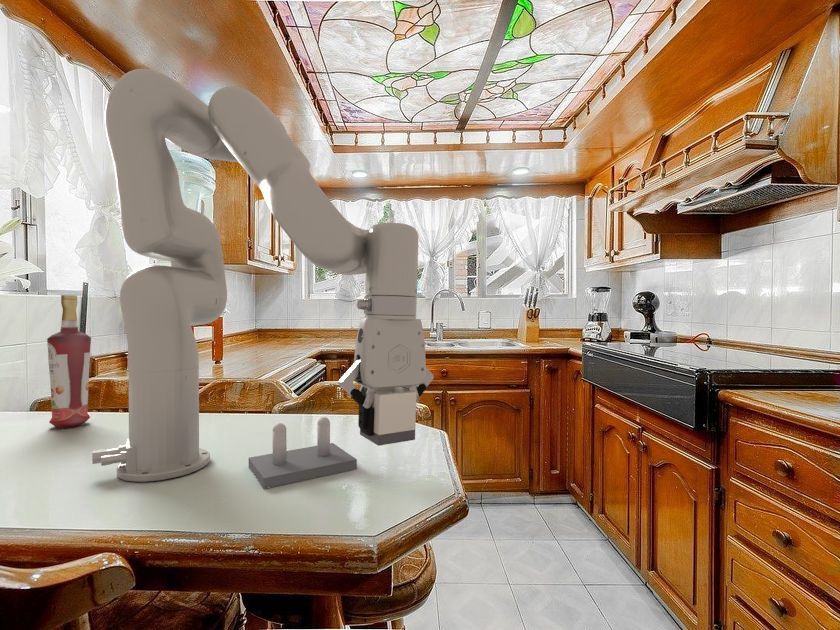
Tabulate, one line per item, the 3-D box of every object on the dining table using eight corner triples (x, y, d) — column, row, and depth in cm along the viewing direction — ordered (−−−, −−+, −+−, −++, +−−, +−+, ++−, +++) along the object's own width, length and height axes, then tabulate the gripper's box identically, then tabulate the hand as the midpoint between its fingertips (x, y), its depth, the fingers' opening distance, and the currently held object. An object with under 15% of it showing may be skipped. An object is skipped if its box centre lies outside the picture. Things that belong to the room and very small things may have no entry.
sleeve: (378, 445, 60) (379, 395, 60) (359, 434, 65) (361, 388, 65) (415, 439, 63) (416, 392, 63) (394, 429, 68) (396, 385, 68)
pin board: (263, 489, 60) (263, 434, 60) (248, 467, 68) (248, 419, 68) (356, 468, 67) (356, 420, 67) (332, 451, 76) (332, 408, 76)
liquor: (97, 424, 94) (96, 295, 94) (55, 432, 88) (54, 294, 88) (83, 419, 98) (82, 296, 98) (42, 427, 92) (40, 295, 91)
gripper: (346, 307, 56) (342, 446, 56) (453, 310, 65) (449, 429, 65) (325, 307, 62) (322, 431, 62) (425, 310, 72) (422, 418, 72)
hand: (387, 429), depth 64 cm, fingers closed on sleeve, 6 cm apart
